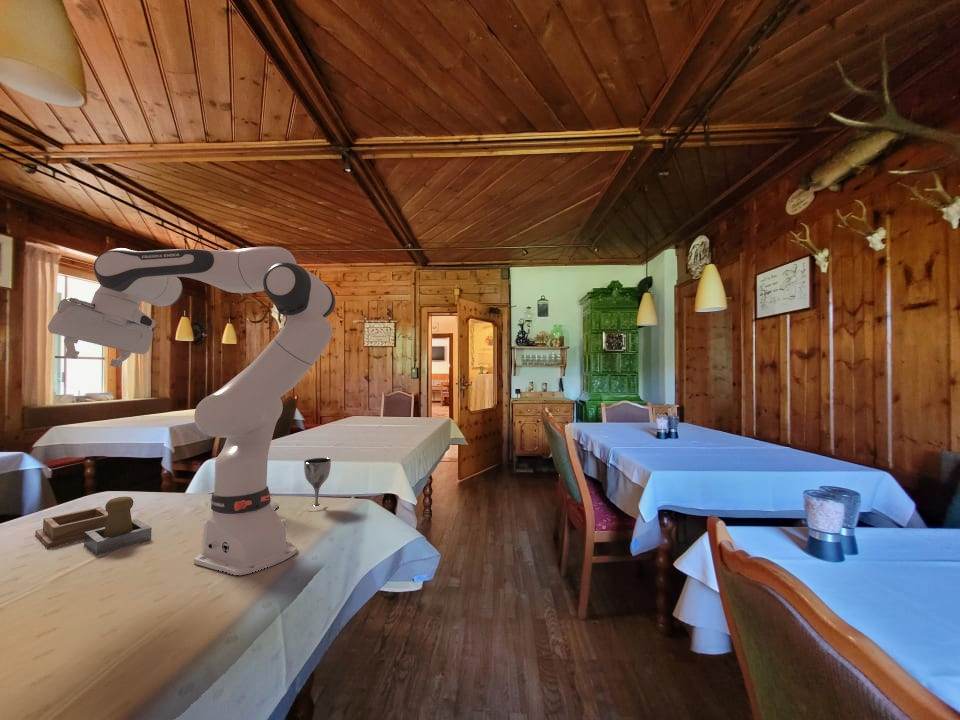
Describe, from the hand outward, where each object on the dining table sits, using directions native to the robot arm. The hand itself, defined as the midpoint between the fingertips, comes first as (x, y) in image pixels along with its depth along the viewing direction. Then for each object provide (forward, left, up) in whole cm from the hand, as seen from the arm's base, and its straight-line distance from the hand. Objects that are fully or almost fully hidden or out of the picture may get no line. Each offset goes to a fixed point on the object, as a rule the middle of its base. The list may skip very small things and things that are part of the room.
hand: (93, 362), depth 96 cm
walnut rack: (+13, -1, -45) cm, 47 cm away
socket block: (-3, -5, -45) cm, 46 cm away
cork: (-3, -5, -46) cm, 46 cm away
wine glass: (-22, -48, -45) cm, 70 cm away
